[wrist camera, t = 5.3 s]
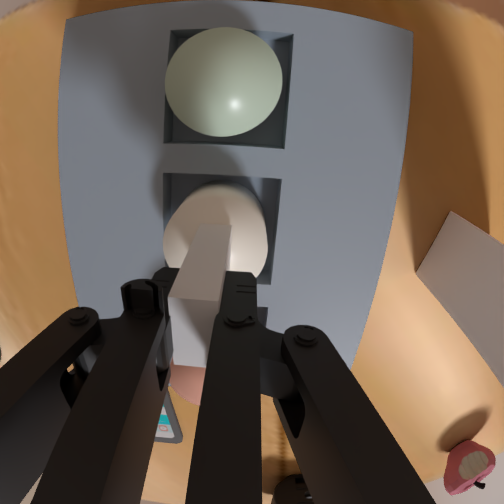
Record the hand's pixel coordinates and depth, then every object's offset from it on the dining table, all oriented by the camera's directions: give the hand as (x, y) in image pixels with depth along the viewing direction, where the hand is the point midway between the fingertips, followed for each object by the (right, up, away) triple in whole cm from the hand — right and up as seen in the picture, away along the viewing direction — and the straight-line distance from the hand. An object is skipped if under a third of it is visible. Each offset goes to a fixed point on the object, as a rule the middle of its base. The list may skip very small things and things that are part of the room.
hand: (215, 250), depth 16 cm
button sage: (0, +9, +1) cm, 9 cm away
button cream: (0, +2, +4) cm, 4 cm away
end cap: (+8, -35, +23) cm, 43 cm away
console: (0, +3, +6) cm, 7 cm away
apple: (+36, -33, +22) cm, 53 cm away
